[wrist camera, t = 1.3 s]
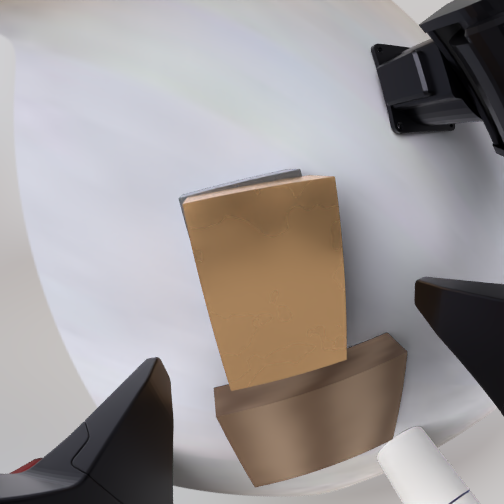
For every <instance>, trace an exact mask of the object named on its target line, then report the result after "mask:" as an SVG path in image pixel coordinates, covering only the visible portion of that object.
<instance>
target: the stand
mask: <svg viewBox="0 0 504 504" xmlns="http://www.w3.org/2000/svg"><path fill="white" fill-rule="evenodd" d="M406 361H407V351H406V350H405V349H404V348H403V347H402V346H401V345H400V344H399V343H398V342H397V341H396V340H395V339H394V338H392V337H391V336H390V335H389V334H388V333H385V334H382V335H380V336H378V337H375V338H373V339H370V340H368V341H365V342H363V343H360V344H358V345H355V346H353V347H350V348H347V360H344V361H341V362H338V363H335V364H332V365H329V366H326V367H322V368H319V369H316V370H313V371H309V372H306V373H303V374H299V375H296V376H292V377H288V378H285V379H281V380H277V381H273V382H269V383H265V384H261V385H256V386H252V387H248V388H243V389H238V390H234V391H231V389H230V386H229V385H225V386H220V387H216V388H214V397H215V409H216V417H217V419H218V421H219V423H220V425H221V427H222V429H223V431H224V433H225V435H226V437H227V439H228V441H229V443H230V444H231V446H232V448H233V450H234V452H235V454H236V455H237V457H238V459H239V461H240V463H241V464H242V466H243V468H244V470H245V471H246V473H247V475H248V476H249V478H250V480H251V481H252V483H253V485H254V486H255V487H259V486H263V485H268V484H272V483H276V482H280V481H284V480H288V479H291V478H295V477H298V476H302V475H305V474H308V473H311V472H314V471H317V470H320V469H323V468H326V467H329V466H332V465H335V464H337V463H340V462H342V461H345V460H348V459H350V458H353V457H355V456H357V455H360V454H362V453H364V452H367V451H369V450H371V449H373V448H375V447H378V446H380V445H382V444H384V443H386V442H388V441H390V440H392V439H393V436H394V431H395V427H396V422H397V417H398V412H399V407H400V402H401V396H402V390H403V383H404V376H405V369H406Z"/></svg>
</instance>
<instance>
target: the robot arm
mask: <svg viewBox="0 0 504 504" xmlns="http://www.w3.org/2000/svg"><path fill="white" fill-rule="evenodd" d="M419 26H420V27H421V28H422V30H423V31H424V32H425V33H427V34H428V35H429V36H430V37H431V39H429V40H427V41H425V42H422V43H420V44H418V45H416V46H413V47H411V48H408V47H401V46H394V45H385V44H375V45H374V46H372V47H371V52H372V55H373V58H374V61H375V65H376V68H377V72H378V75H379V79H380V82H381V86H382V90H383V94H384V98H385V102H386V105H387V109H388V113H389V118H390V123H391V127H392V130H393V131H394V132H395V133H411V132H428V131H452V130H454V129H455V123H464V122H479V121H483V122H484V124H485V126H486V128H487V131H488V133H489V135H490V137H491V139H492V142H493V147H494V149H495V152H496V153H497V154H499V155H502V156H504V0H454V1H452V2H450V3H448V4H447V5H445V6H444V7H442V8H441V9H440V10H438V11H437V12H435V13H434V14H433V15H431V16H430V17H429V18H427V19H426V20H425V21H423V22H422V23H421V24H419ZM377 49H378V50H379V51H380V53H379V52H378V50H377ZM397 124H399V125H400V128H398V126H397ZM449 124H450V125H449ZM415 305H416V307H417V308H418V310H419V311H420V312H421V314H422V315H423V316H424V318H425V319H426V320H427V322H428V323H429V325H430V326H431V327H432V329H433V330H434V331H435V333H436V334H437V335H438V336H439V338H440V339H441V340H442V341H443V342H444V343H445V344H446V345H447V347H448V348H449V349H450V350H451V351H452V352H453V353H454V355H455V356H456V357H457V358H458V359H459V360H460V362H461V363H462V364H463V365H464V366H465V368H466V369H467V370H468V371H469V372H470V374H471V375H472V376H473V377H474V378H475V380H476V381H477V382H478V383H479V385H480V386H481V387H482V388H483V390H484V391H485V392H486V393H487V395H488V396H489V397H490V399H491V400H492V401H493V402H494V404H495V405H496V406H497V408H498V409H499V410H500V411H501V413H502V415H503V416H504V284H494V283H484V282H473V281H463V280H453V279H443V278H433V277H423V278H421V279H418V280H417V281H416V283H415ZM0 504H173V408H172V396H171V382H170V378H169V375H168V373H167V371H166V369H165V367H164V365H163V363H162V361H161V360H160V358H158V357H155V358H149V359H146V360H145V361H144V362H143V363H142V364H141V365H140V366H139V367H138V368H137V369H136V370H135V371H134V372H133V373H132V374H131V375H130V376H129V377H128V378H127V379H126V380H125V381H124V382H123V383H122V384H121V385H120V386H119V387H118V388H117V389H116V390H115V391H114V392H113V393H112V394H111V395H110V396H109V397H108V398H107V399H106V400H105V401H104V402H103V403H102V404H101V405H100V406H99V407H98V408H97V409H96V410H95V411H94V412H93V413H92V414H91V415H90V416H89V417H88V418H87V419H86V420H85V422H83V423H82V424H81V425H80V426H79V427H78V428H77V429H76V430H75V431H74V432H73V433H72V434H71V435H70V436H69V437H68V438H66V439H65V440H64V441H63V442H62V443H60V444H59V445H58V446H57V447H56V448H55V449H53V450H52V451H51V452H50V453H48V454H47V455H46V456H45V457H44V458H42V459H41V460H40V461H39V462H37V463H36V464H35V465H34V466H32V467H31V468H30V469H28V470H26V471H24V472H21V473H16V474H0Z"/></svg>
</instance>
